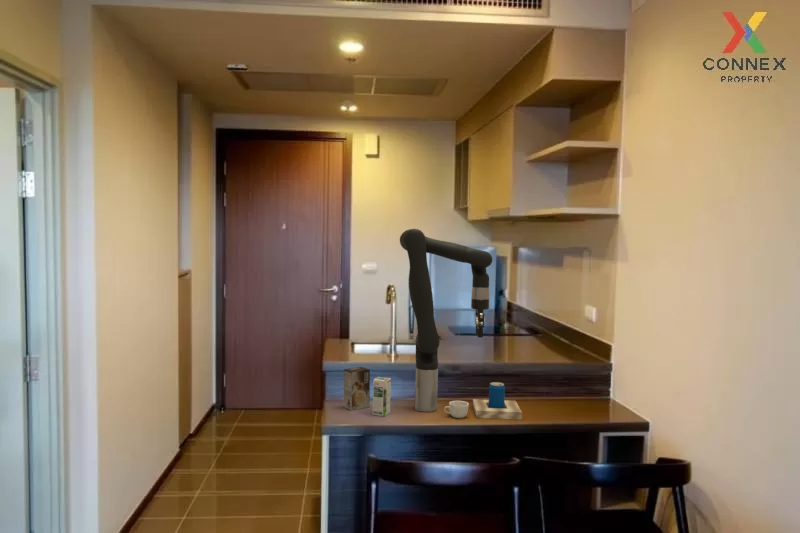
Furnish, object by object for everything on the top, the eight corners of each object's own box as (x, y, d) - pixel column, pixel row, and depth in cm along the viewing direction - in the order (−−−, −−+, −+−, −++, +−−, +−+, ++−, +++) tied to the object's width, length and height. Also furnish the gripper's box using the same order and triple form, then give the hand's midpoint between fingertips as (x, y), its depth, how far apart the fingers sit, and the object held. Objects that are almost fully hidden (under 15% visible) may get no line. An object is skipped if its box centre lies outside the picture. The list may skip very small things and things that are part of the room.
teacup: (464, 413, 237) (464, 400, 237) (471, 419, 230) (471, 405, 230) (441, 414, 235) (441, 401, 235) (446, 420, 228) (447, 406, 227)
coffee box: (361, 403, 247) (361, 366, 247) (369, 407, 242) (370, 369, 242) (343, 407, 242) (343, 369, 241) (351, 410, 237) (352, 372, 236)
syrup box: (371, 415, 232) (372, 379, 231) (377, 411, 237) (378, 376, 237) (385, 416, 230) (385, 380, 229) (390, 412, 236) (391, 377, 235)
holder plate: (476, 417, 231) (476, 410, 231) (472, 406, 247) (473, 399, 247) (521, 419, 231) (521, 412, 230) (515, 407, 246) (515, 400, 246)
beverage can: (503, 415, 235) (504, 386, 234) (487, 414, 236) (488, 385, 236) (504, 411, 241) (505, 382, 241) (488, 409, 243) (489, 381, 242)
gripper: (470, 295, 254) (469, 332, 255) (472, 299, 240) (471, 338, 240) (487, 296, 254) (486, 333, 254) (491, 299, 239) (489, 338, 240)
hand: (479, 335), depth 247 cm, fingers open, 8 cm apart
